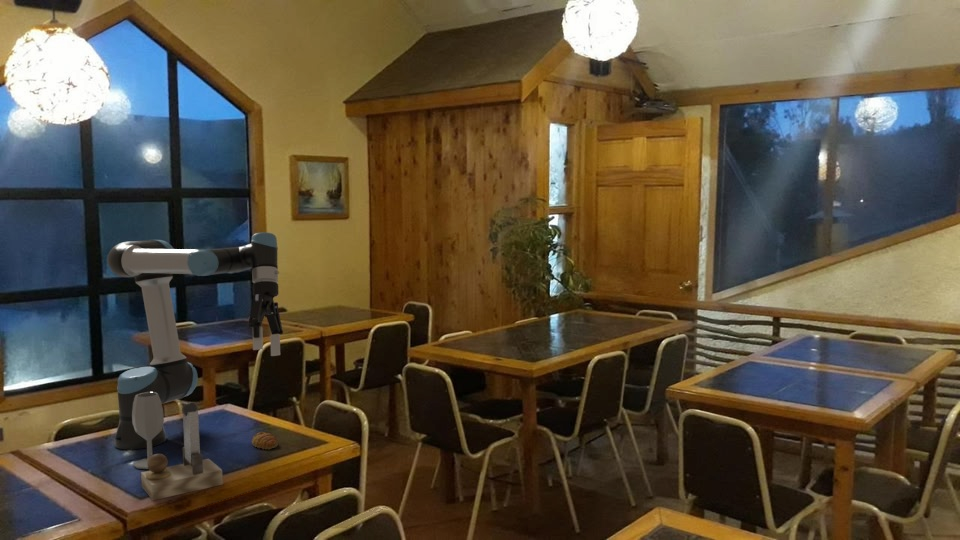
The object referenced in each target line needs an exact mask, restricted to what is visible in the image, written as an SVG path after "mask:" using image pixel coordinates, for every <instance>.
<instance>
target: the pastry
mask: <svg viewBox="0 0 960 540" xmlns="http://www.w3.org/2000/svg"><path fill="white" fill-rule="evenodd" d="M251 444H252V445H253V447H254V448H256V447H257V449H260V448H262V449H261V450H264V449H265V450H271V449H274V448H277V447H278V445H279V442H278V439H277V438H276V437H275V435H274V434H272V433H270V432H267V433H266V432H264V431H259V432H258V433H256V434H254V435H253V437H252V439H251Z"/></svg>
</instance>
